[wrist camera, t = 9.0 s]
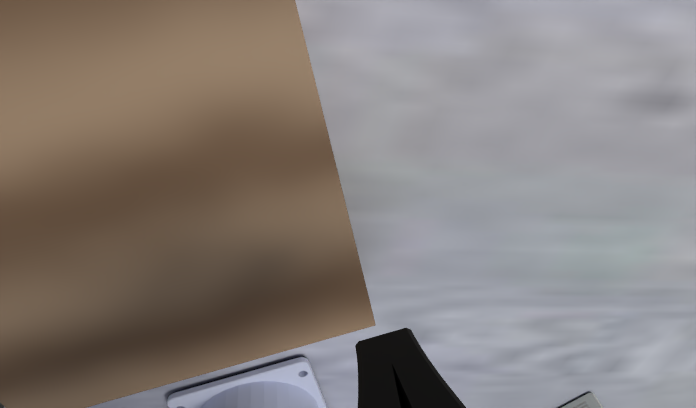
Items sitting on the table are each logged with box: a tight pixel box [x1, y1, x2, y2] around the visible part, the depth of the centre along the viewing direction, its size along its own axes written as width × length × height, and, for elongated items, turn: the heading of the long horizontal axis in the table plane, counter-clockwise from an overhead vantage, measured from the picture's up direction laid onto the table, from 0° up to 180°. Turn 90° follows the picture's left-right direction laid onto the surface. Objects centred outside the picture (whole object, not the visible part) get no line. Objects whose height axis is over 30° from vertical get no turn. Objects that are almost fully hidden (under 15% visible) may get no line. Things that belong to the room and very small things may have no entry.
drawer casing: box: [0, 0, 375, 408], centre depth 16 cm, size 18×16×3 cm
